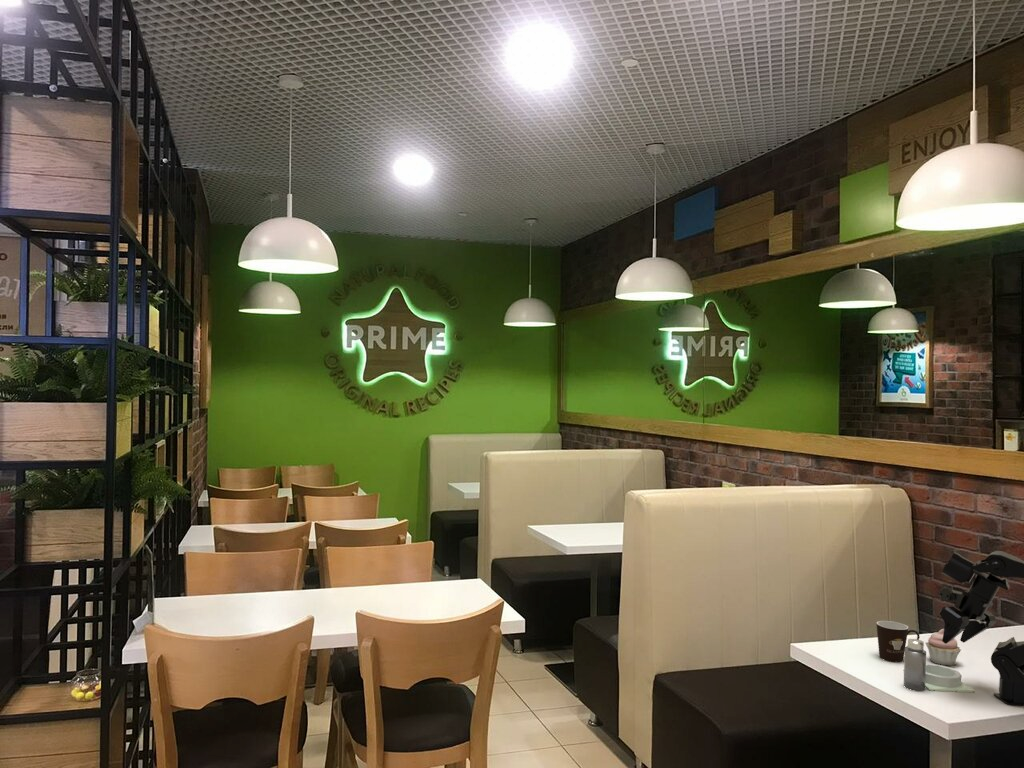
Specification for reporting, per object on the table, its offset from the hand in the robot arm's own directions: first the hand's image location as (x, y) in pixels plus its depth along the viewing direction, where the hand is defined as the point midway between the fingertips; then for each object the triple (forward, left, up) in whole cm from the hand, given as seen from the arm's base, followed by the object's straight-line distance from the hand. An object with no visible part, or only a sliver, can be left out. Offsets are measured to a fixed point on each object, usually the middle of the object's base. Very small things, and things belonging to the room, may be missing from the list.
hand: (953, 642), depth 211 cm
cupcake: (+19, -8, -12) cm, 24 cm away
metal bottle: (-2, +11, -12) cm, 16 cm away
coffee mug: (+20, +5, -12) cm, 24 cm away
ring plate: (+3, +2, -12) cm, 13 cm away
